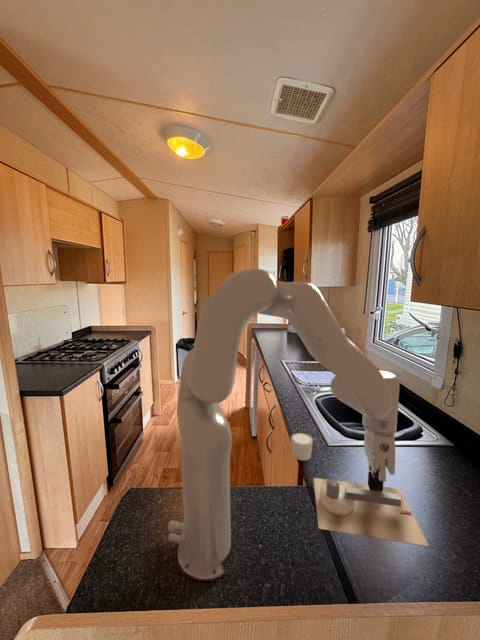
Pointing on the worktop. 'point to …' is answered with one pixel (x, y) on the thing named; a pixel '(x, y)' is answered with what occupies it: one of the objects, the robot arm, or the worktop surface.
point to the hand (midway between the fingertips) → (375, 488)
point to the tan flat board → (371, 517)
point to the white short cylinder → (301, 446)
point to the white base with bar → (352, 498)
